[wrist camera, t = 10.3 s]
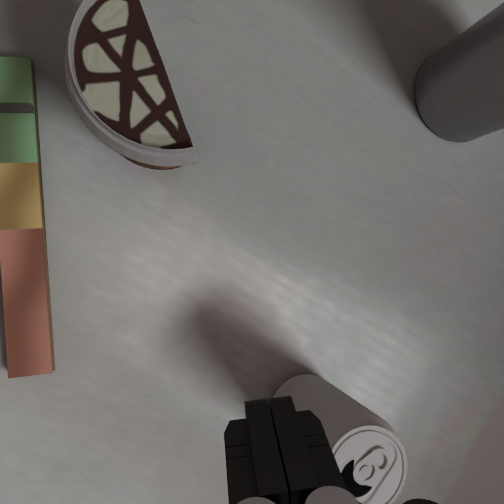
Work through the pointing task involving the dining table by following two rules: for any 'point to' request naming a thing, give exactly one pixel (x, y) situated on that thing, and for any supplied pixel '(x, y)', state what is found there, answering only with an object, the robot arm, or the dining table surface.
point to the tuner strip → (23, 225)
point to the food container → (124, 85)
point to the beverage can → (353, 439)
